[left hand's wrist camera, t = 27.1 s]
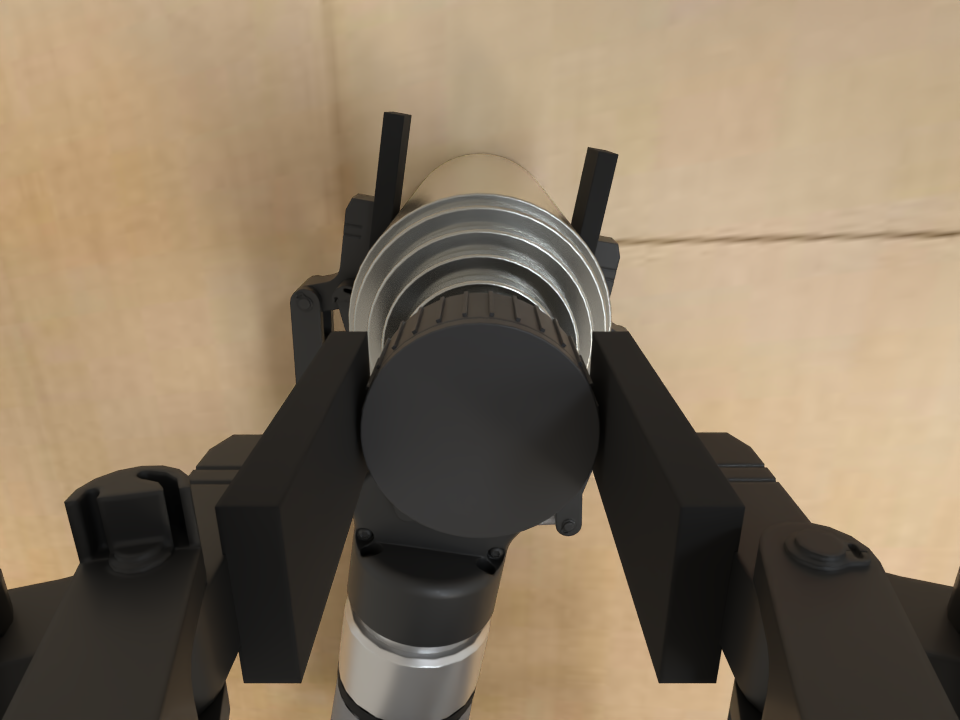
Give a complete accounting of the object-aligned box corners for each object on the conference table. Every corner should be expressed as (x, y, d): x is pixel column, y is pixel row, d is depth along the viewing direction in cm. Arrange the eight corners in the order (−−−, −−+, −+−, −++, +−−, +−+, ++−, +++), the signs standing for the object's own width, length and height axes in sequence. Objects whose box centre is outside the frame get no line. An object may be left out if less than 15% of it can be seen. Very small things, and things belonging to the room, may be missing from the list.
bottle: (575, 185, 33) (733, 313, 12) (520, 317, 35) (575, 608, 15) (435, 130, 32) (356, 169, 11) (389, 269, 34) (254, 509, 14)
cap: (542, 254, 13) (553, 279, 11) (615, 442, 15) (635, 495, 13) (336, 337, 14) (313, 376, 12) (426, 511, 15) (419, 570, 13)
